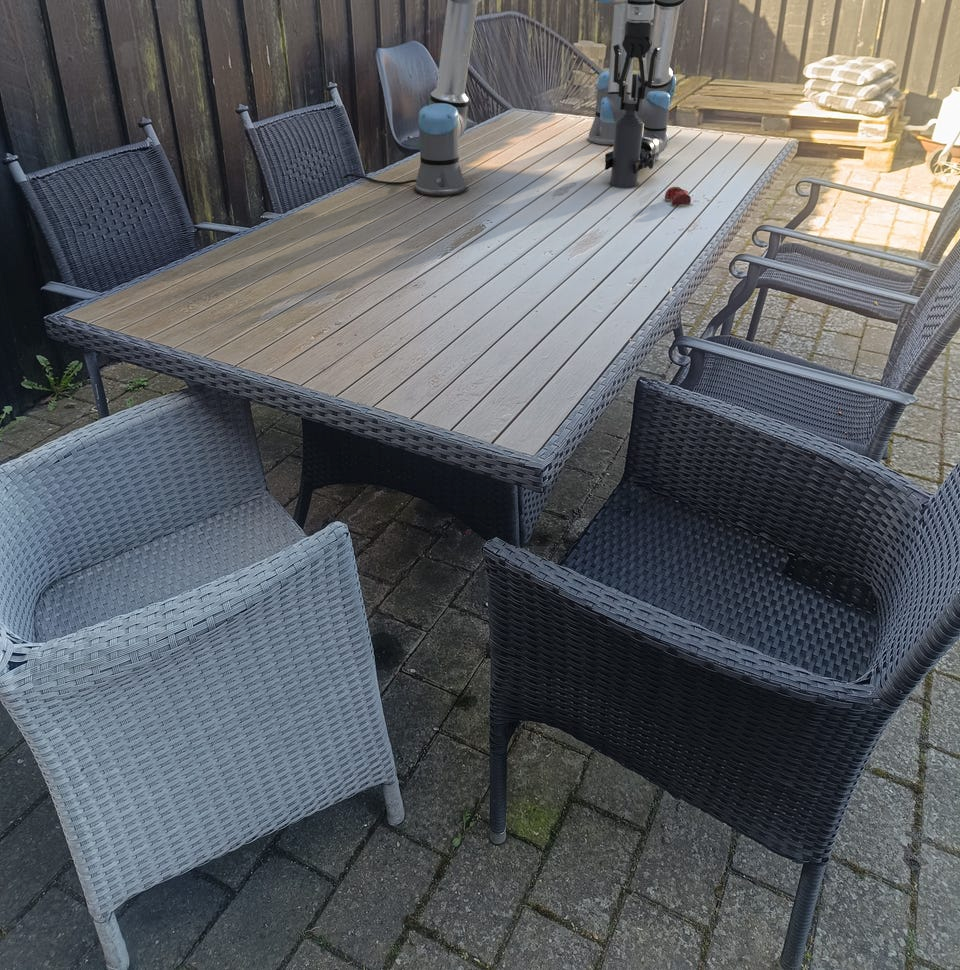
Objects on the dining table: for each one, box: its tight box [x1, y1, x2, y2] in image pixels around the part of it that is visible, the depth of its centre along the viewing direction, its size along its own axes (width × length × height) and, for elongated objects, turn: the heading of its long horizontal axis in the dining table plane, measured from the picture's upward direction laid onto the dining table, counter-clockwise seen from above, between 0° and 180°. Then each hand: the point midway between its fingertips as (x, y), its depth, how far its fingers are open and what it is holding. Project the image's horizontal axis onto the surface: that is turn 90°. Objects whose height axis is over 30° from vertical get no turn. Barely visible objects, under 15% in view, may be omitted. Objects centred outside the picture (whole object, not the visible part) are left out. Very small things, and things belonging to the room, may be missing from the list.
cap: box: [624, 101, 637, 111], centre depth 250 cm, size 4×4×2 cm
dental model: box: [664, 186, 692, 206], centre depth 247 cm, size 6×4×8 cm
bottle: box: [609, 111, 644, 189], centre depth 257 cm, size 8×8×23 cm
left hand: (630, 109), depth 251 cm, fingers closed on cap, 4 cm apart
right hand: (620, 167), depth 257 cm, fingers closed on bottle, 8 cm apart
